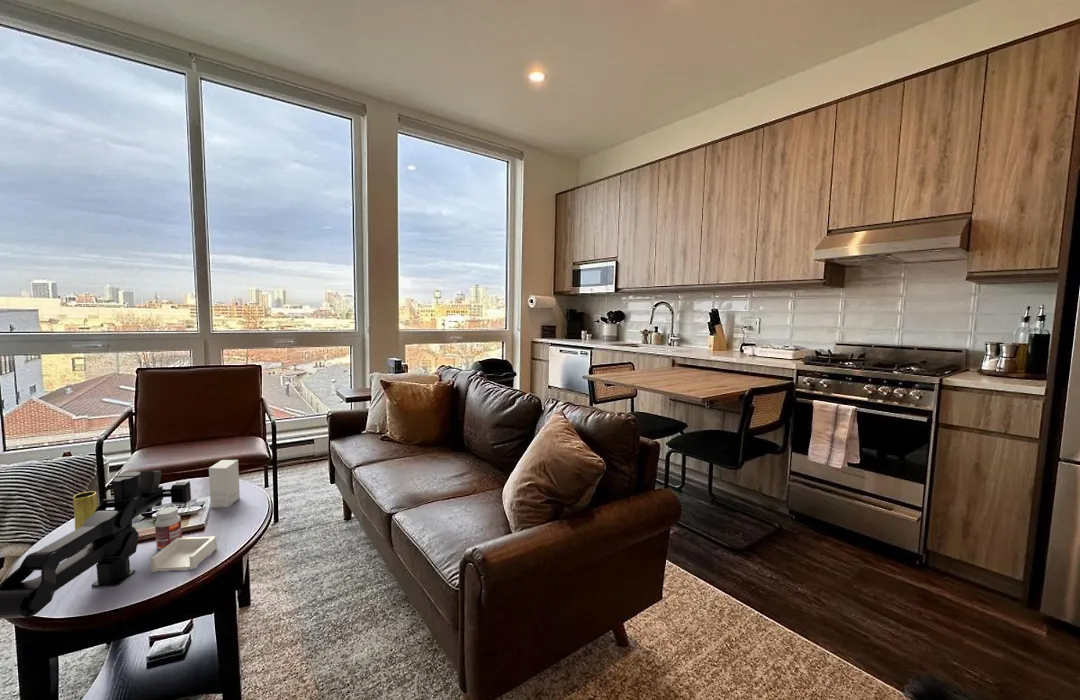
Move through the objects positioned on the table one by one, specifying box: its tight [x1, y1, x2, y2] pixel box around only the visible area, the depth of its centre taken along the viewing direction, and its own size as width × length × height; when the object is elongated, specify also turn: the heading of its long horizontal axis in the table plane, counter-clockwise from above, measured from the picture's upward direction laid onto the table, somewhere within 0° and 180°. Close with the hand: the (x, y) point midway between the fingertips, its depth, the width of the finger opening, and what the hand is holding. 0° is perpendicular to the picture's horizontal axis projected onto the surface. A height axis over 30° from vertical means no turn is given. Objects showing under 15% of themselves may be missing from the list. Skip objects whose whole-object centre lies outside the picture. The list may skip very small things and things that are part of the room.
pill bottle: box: [154, 506, 183, 551], centre depth 137 cm, size 6×6×11 cm
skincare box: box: [208, 459, 241, 509], centre depth 166 cm, size 8×7×16 cm
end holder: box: [149, 535, 218, 573], centre depth 130 cm, size 11×11×4 cm
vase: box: [72, 490, 99, 531], centre depth 140 cm, size 6×6×14 cm
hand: (174, 483), depth 144 cm, fingers open, 9 cm apart
